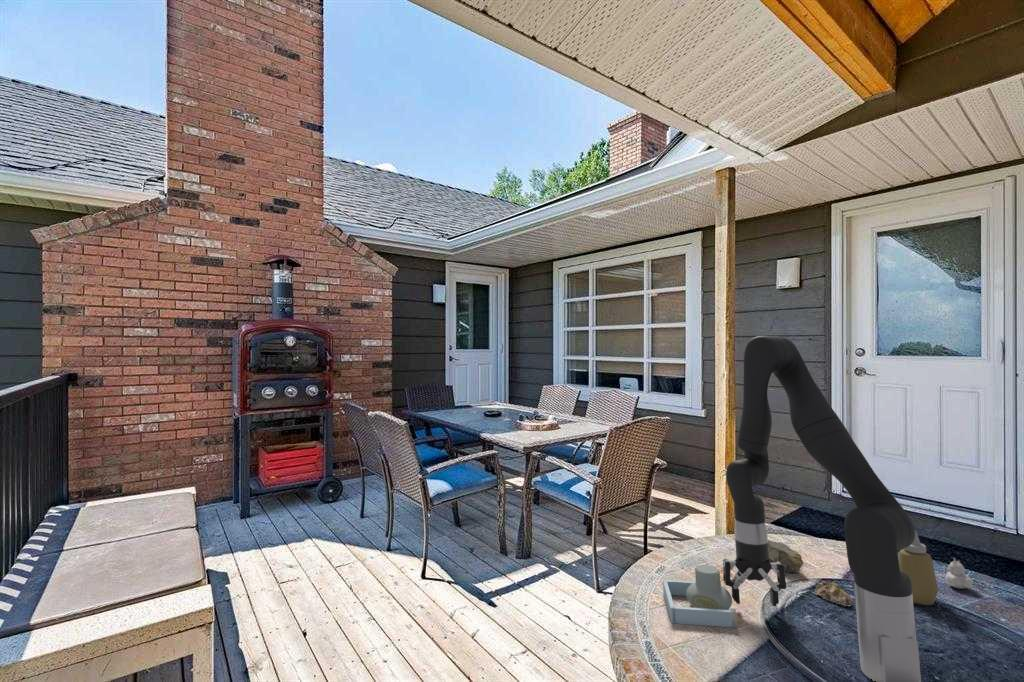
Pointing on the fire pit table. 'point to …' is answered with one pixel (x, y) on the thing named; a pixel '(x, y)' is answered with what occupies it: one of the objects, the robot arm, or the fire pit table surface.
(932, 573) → the squeeze bottle
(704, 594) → the air freshener
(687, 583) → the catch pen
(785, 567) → the rock
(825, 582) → the mineral rock
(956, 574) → the rubber duck
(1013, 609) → the fire pit table surface
